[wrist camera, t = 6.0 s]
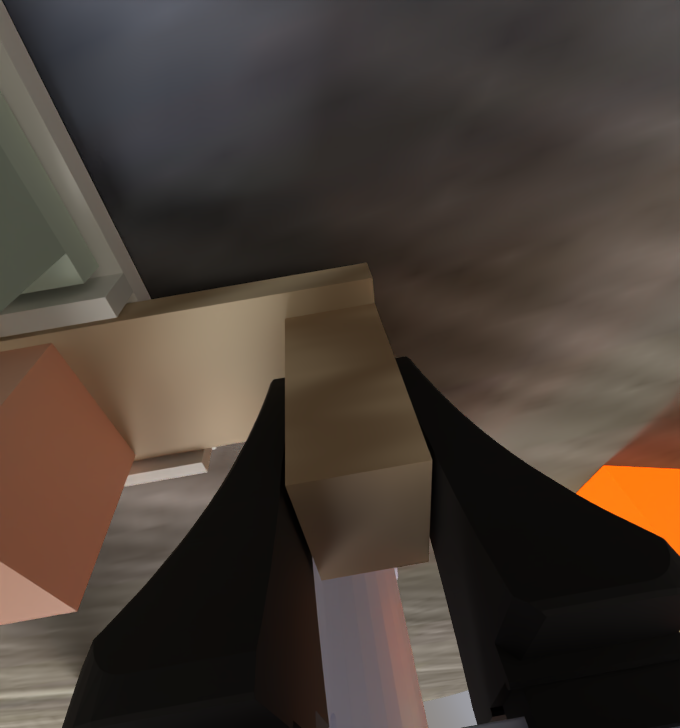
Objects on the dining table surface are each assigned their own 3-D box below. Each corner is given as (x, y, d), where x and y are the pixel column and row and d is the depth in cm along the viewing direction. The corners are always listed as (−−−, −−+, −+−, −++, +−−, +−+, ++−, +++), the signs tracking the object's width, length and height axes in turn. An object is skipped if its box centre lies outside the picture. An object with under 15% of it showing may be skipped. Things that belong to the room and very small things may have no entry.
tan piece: (366, 262, 11) (433, 429, 6) (378, 398, 15) (428, 575, 10) (-109, 344, 11) (-434, 581, 6) (17, 461, 15) (-123, 673, 10)
